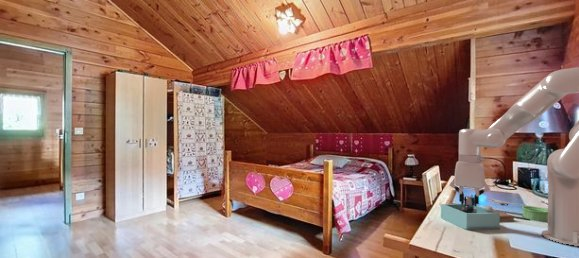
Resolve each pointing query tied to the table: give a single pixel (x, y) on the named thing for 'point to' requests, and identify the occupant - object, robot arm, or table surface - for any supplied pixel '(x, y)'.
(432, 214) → the table surface
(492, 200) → the adjustable wrench
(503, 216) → the stud plate
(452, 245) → the table surface
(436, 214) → the table surface
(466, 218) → the bin
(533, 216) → the ramekin
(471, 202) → the square base knob
